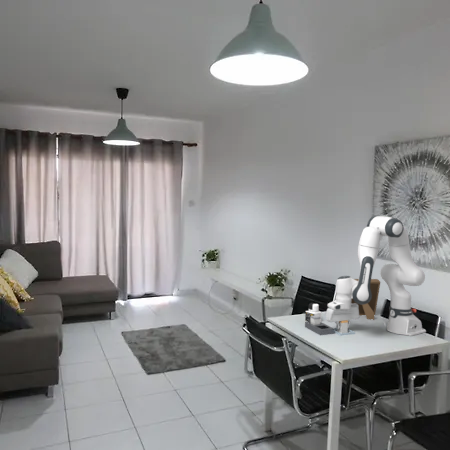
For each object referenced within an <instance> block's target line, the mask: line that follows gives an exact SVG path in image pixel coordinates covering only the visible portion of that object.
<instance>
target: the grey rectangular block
mask: <svg viewBox="0 0 450 450" xmlns="http://www.w3.org/2000/svg"><path fill="white" fill-rule="evenodd" d="M320 318H321V319H322V316H321V317H319V316H317V315H315V316H311V324H313V325H318V324H320Z"/></svg>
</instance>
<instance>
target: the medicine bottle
mask: <svg viewBox="0 0 450 450" xmlns="http://www.w3.org/2000/svg"><path fill="white" fill-rule="evenodd" d="M319 306H320V305H319V304H318V303H316V302H315V303H314V302H310V303H308V310H305V315H304V317H305V322H310V321H311V316H315V315H317V316H319V317H321V318H320V322H322V314H323V313H322V311H320V310H319V309H320V308H319Z"/></svg>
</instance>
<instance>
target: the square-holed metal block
mask: <svg viewBox="0 0 450 450" xmlns="http://www.w3.org/2000/svg"><path fill="white" fill-rule="evenodd" d="M304 328H306V329H307V330H310V331H311V332H314V333H315V334H317V335H318V336H327V335H334V334H335V333H334V328H335V327H331V326H330V325H328V324H326V323H324V322H322V321H321V322H320V324H318V325H313V324H311V321H310V322H308V321H305V323H304Z"/></svg>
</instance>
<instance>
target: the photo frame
mask: <svg viewBox="0 0 450 450" xmlns="http://www.w3.org/2000/svg"><path fill="white" fill-rule="evenodd" d="M353 279H354V280H356V281H359V278H353ZM380 287H381V281H380V280H379V279H378V278H371V283H370V289H371V293H372V298H371V300H370V302H368V303H367V304H364V305H361V304H358V303H356V302H355V301H354V300H353V298H352V299H351V303H356V304H358V306H359V307H358V310H359V316H362V315H366V316H365V317H366V319H367V320H371V319H373V321H375V316H376V313H377V307H378V306H377V305H378V300H379V292H380ZM374 315H375V316H374Z"/></svg>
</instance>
